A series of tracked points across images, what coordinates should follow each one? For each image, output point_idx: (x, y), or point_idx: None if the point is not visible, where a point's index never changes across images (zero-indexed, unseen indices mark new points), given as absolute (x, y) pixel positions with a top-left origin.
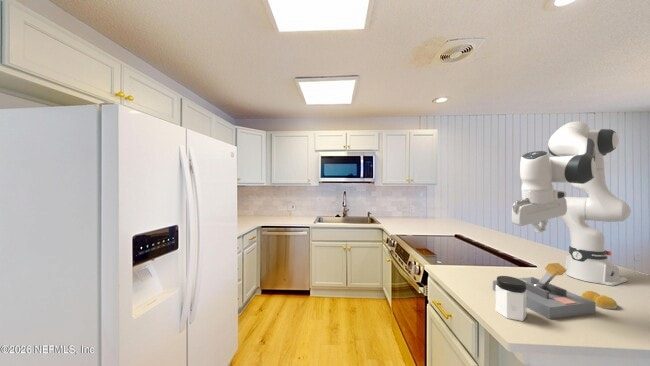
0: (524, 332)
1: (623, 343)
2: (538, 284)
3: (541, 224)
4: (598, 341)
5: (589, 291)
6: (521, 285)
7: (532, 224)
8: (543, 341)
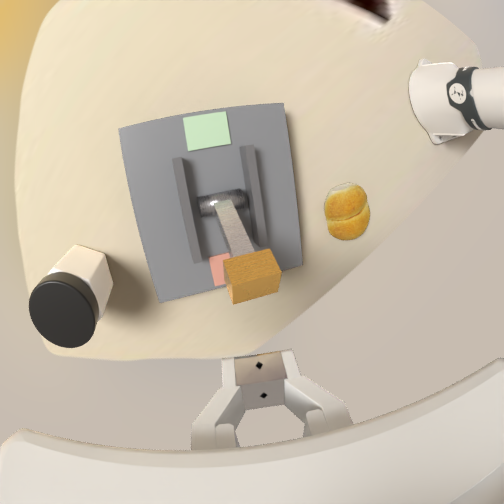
0: None
1: (229, 349)
2: (214, 210)
3: (296, 397)
4: (191, 349)
5: (352, 201)
6: (74, 347)
7: (201, 418)
8: (96, 356)
